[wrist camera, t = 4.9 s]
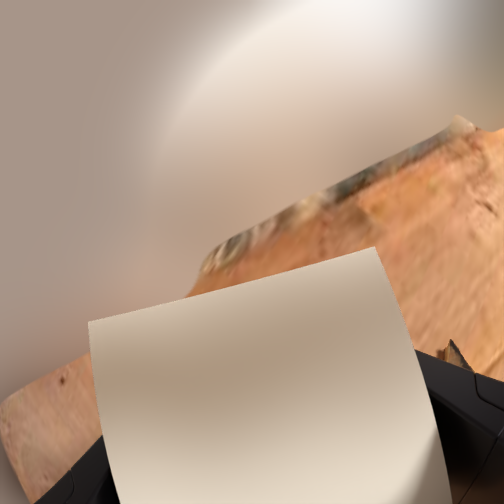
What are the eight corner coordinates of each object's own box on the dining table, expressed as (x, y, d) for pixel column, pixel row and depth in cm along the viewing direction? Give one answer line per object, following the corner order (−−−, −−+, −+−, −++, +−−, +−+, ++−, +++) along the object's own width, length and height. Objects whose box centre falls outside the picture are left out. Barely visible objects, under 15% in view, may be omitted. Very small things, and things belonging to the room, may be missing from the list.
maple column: (356, 453, 12) (454, 520, 3) (232, 485, 12) (152, 585, 3) (323, 340, 15) (374, 246, 6) (203, 371, 15) (88, 322, 6)
